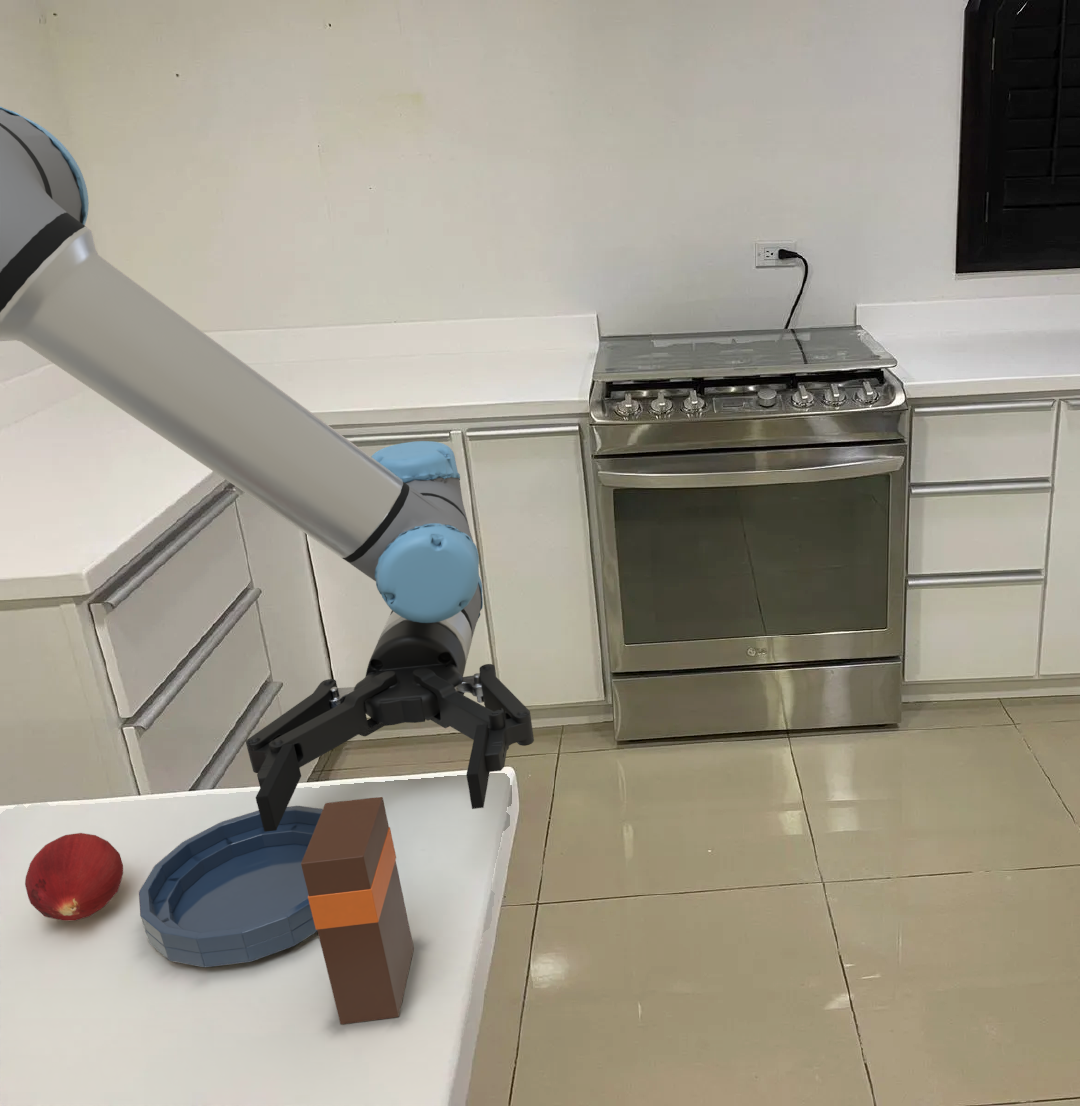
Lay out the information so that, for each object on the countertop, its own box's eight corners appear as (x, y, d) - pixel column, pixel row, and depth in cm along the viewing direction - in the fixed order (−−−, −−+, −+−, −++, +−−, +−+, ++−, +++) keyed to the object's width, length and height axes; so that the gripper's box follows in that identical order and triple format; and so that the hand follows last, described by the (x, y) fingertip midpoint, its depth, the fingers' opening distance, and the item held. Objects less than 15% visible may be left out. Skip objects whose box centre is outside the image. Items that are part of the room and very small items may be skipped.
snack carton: (339, 1025, 66) (299, 864, 61) (359, 954, 71) (324, 802, 67) (399, 1017, 66) (364, 856, 62) (415, 947, 72) (383, 795, 67)
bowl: (116, 986, 70) (103, 949, 69) (192, 850, 83) (182, 818, 82) (341, 958, 71) (332, 922, 70) (380, 829, 84) (374, 796, 83)
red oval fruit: (70, 892, 80) (51, 965, 73) (17, 840, 77) (-8, 911, 70) (144, 850, 81) (133, 918, 74) (95, 797, 78) (78, 863, 71)
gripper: (573, 681, 94) (566, 828, 74) (278, 711, 92) (190, 870, 72) (564, 603, 91) (553, 734, 71) (259, 631, 89) (162, 775, 69)
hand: (371, 803), depth 72 cm, fingers open, 13 cm apart
